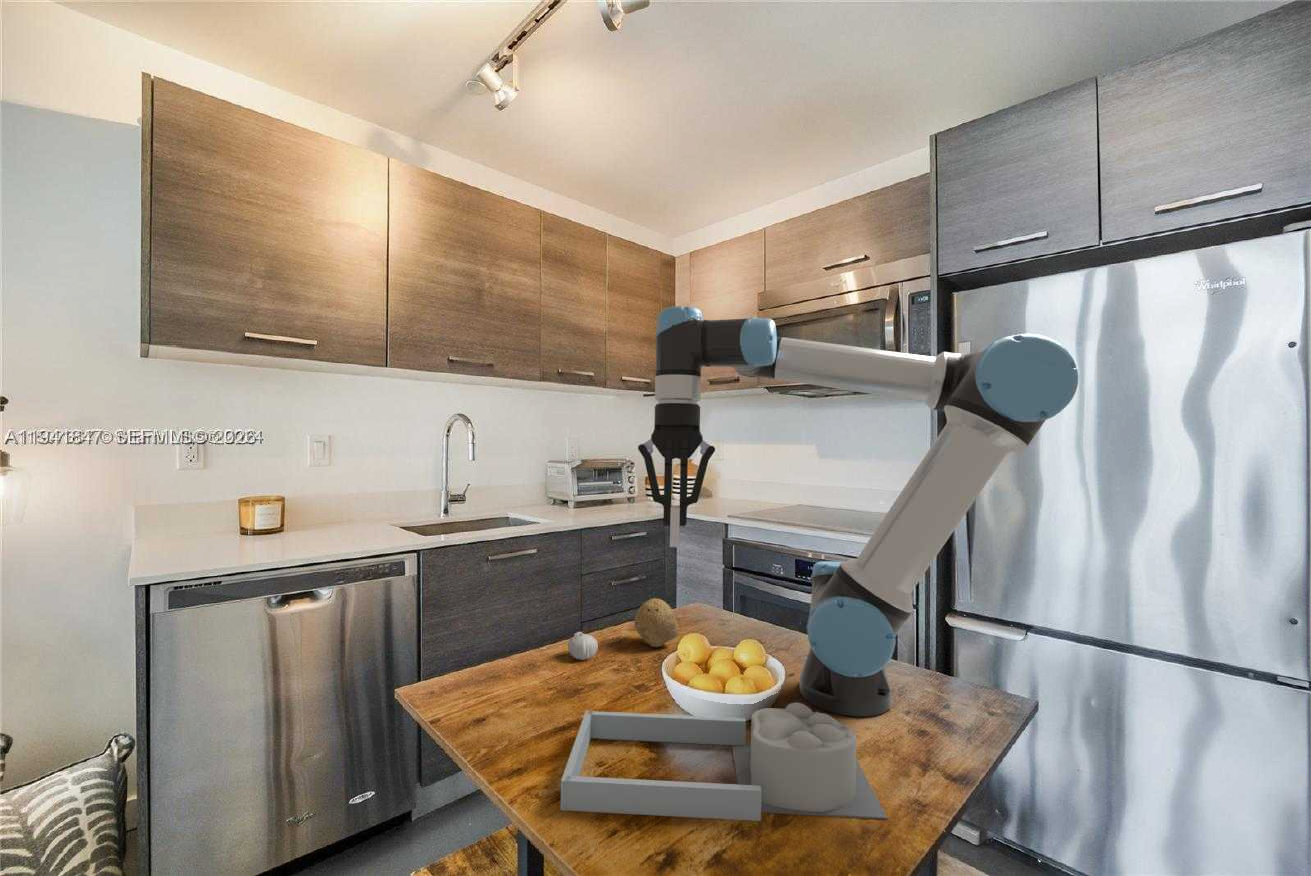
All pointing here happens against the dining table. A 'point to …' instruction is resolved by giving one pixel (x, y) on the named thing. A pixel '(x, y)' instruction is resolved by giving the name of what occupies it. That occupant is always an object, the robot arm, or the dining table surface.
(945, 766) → the dining table surface
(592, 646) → the garlic
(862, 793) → the mat
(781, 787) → the lumpy-topped squat cylinder
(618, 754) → the dining table surface
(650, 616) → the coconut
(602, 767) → the dining table surface
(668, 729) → the low rectangular rim
